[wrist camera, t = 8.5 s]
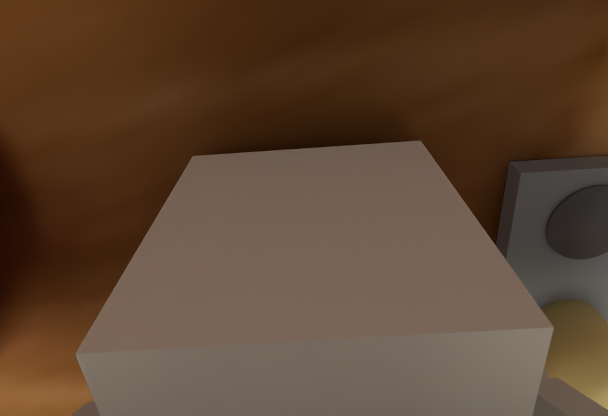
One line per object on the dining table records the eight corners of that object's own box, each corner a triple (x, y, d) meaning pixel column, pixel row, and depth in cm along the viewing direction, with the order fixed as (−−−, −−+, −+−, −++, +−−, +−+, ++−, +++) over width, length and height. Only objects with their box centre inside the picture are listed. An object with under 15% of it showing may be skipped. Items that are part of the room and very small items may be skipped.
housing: (192, 156, 12) (74, 353, 6) (420, 140, 12) (553, 327, 6) (238, 393, 16) (199, 657, 10) (408, 384, 16) (476, 647, 10)
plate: (509, 162, 13) (581, 230, 10) (666, 151, 13) (796, 218, 9) (478, 351, 16) (524, 450, 13) (602, 344, 16) (680, 443, 13)
